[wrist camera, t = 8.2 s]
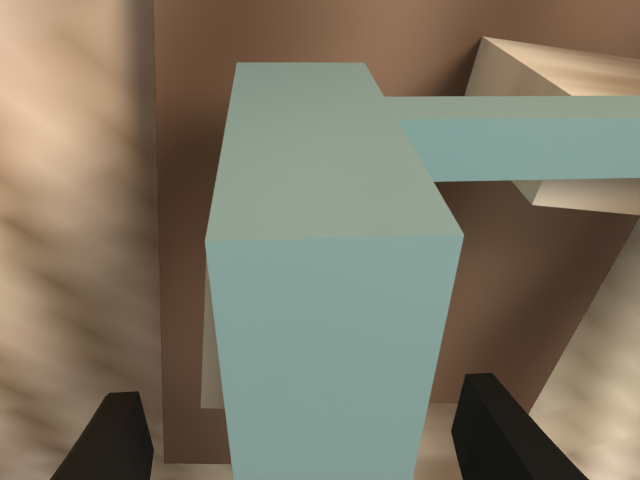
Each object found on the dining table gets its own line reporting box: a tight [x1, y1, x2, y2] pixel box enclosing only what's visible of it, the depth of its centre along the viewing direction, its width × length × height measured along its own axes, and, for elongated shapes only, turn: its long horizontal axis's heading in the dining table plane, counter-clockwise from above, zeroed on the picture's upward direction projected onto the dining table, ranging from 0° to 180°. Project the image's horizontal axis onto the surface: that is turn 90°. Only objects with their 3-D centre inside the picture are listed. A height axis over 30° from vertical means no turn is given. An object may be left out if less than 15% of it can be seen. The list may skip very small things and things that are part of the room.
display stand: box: [153, 0, 640, 480], centre depth 15 cm, size 14×19×6 cm
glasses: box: [205, 62, 640, 480], centre depth 11 cm, size 10×14×6 cm
